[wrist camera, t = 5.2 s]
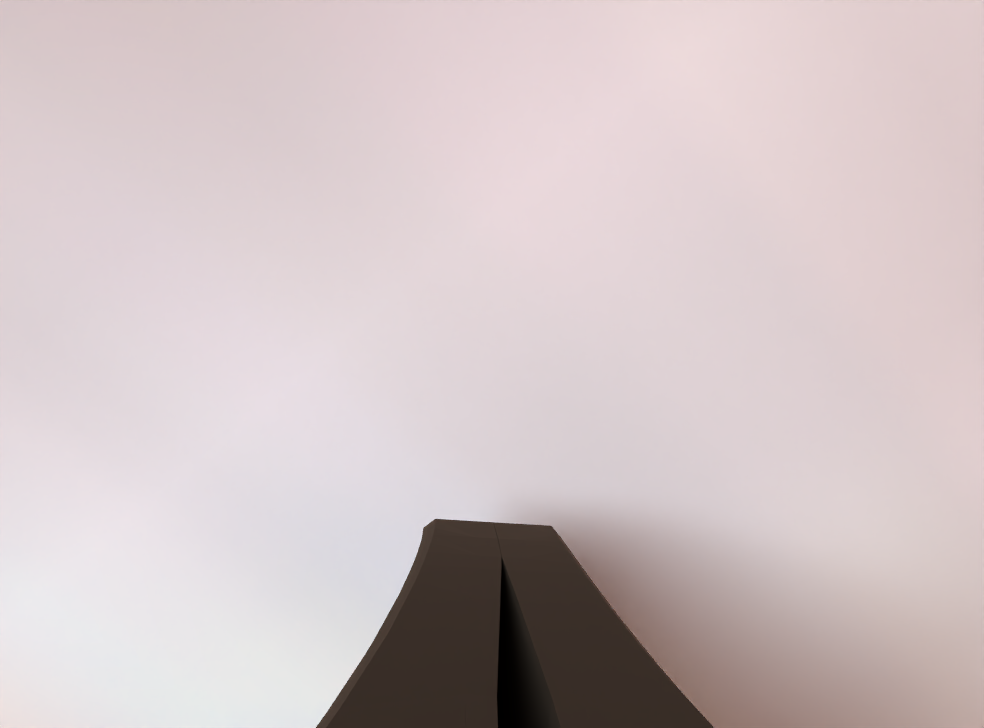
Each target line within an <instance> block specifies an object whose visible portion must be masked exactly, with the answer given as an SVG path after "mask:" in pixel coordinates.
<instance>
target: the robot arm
mask: <svg viewBox="0 0 984 728" xmlns="http://www.w3.org/2000/svg"><path fill="white" fill-rule="evenodd" d="M316 728H714V727H713V726H712V725H711V724H710V723H709V722H708V721H707V720H706V718H705V717H704V716H703V715H702V714H701V713H700V712H699V711H698V710H697V709H696V708H695V707H694V705H693V704H692V703H691V702H690V701H689V700H688V699H687V698H686V697H685V696H684V695H683V693H682V692H681V691H680V690H679V689H678V688H677V686H676V685H675V684H674V683H673V682H672V681H671V680H670V678H669V677H668V676H667V675H666V674H665V673H664V671H663V670H662V669H661V668H660V667H659V665H658V664H657V663H656V662H655V661H654V659H653V658H652V657H651V656H650V654H649V653H648V652H647V651H646V650H645V648H644V647H643V646H642V645H641V643H640V642H639V641H638V640H637V639H636V637H635V636H634V635H633V634H632V632H631V631H630V630H629V629H628V628H627V626H626V625H625V624H624V623H623V621H622V620H621V619H620V617H619V616H618V615H617V614H616V612H615V611H614V610H613V608H612V607H611V606H610V604H609V603H608V602H607V600H606V599H605V598H604V596H603V595H602V594H601V592H600V591H599V590H598V588H597V587H596V586H595V584H594V583H593V582H592V580H591V579H590V578H589V576H588V575H587V573H586V572H585V571H584V569H583V568H582V567H581V565H580V564H579V562H578V561H577V560H576V558H575V557H574V555H573V554H572V553H571V551H570V550H569V548H568V547H567V546H566V544H565V543H564V541H563V540H562V539H561V537H560V536H559V535H558V534H557V532H556V531H555V530H554V529H553V527H552V526H544V525H527V524H510V523H494V522H477V521H460V520H443V519H435V520H433V521H432V522H431V523H429V524H428V525H427V526H425V527H424V528H423V535H422V540H421V543H420V547H419V550H418V553H417V556H416V558H415V561H414V563H413V566H412V568H411V570H410V573H409V575H408V577H407V579H406V581H405V583H404V585H403V588H402V590H401V592H400V594H399V596H398V598H397V599H396V601H395V603H394V605H393V607H392V608H391V610H390V612H389V614H388V616H387V618H386V619H385V621H384V623H383V625H382V627H381V628H380V630H379V632H378V634H377V636H376V637H375V639H374V641H373V643H372V644H371V646H370V648H369V649H368V651H367V653H366V654H365V656H364V657H363V659H362V660H361V662H360V663H359V665H358V666H357V668H356V669H355V671H354V672H353V674H352V675H351V677H350V678H349V680H348V681H347V683H346V684H345V686H344V687H343V689H342V690H341V692H340V693H339V695H338V696H337V698H336V700H335V701H334V703H333V704H332V706H331V707H330V709H329V710H328V712H327V713H326V714H325V716H324V717H323V719H322V720H321V721H320V723H319V724H318V725H317V727H316Z"/></svg>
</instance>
